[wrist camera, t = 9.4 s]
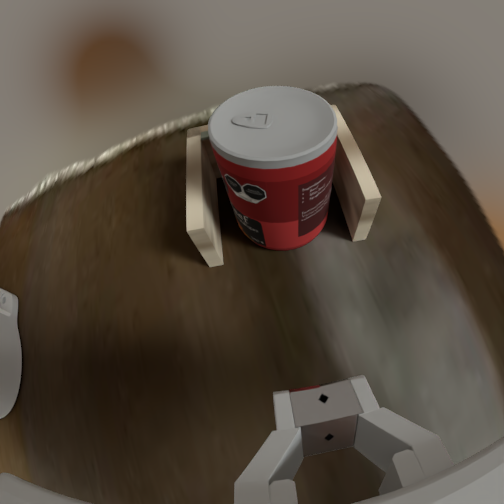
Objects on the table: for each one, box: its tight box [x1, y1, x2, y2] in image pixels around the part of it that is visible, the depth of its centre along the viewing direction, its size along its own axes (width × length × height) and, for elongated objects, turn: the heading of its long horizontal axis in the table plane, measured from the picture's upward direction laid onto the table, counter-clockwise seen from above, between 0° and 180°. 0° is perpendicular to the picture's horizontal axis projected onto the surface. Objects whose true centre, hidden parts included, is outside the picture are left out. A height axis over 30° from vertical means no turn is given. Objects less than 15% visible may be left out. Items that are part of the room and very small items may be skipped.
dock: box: [186, 105, 381, 267], centre depth 24 cm, size 11×13×6 cm
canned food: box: [208, 86, 338, 250], centre depth 22 cm, size 8×8×11 cm
